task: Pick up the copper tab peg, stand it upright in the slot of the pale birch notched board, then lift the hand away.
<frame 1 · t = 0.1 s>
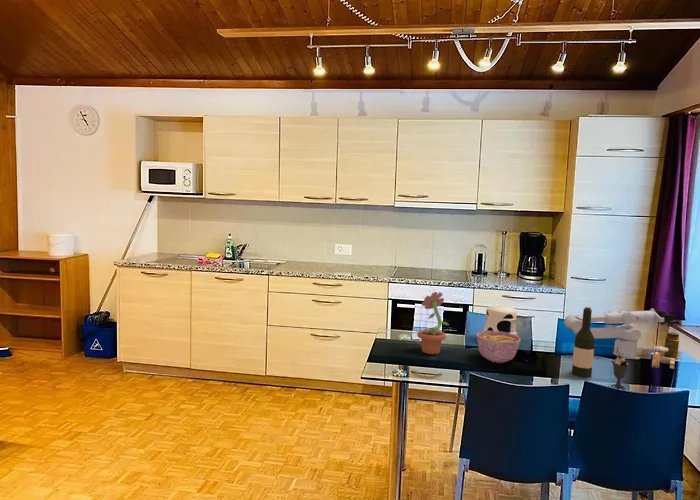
hand: (670, 315, 264), 22 cm above the table, tool horizontal, fingers open, 7 cm apart
notched board: (664, 364, 256), on the table
decorative flower: (431, 352, 259), on the table
bowl of food: (496, 360, 251), on the table
milk container: (499, 342, 283), on the table
wine bottle: (581, 375, 236), on the table
bobbin: (660, 359, 264), on the table
copper peg: (655, 367, 251), on the table
condiment: (669, 357, 270), on the table
sundae: (617, 387, 222), on the table
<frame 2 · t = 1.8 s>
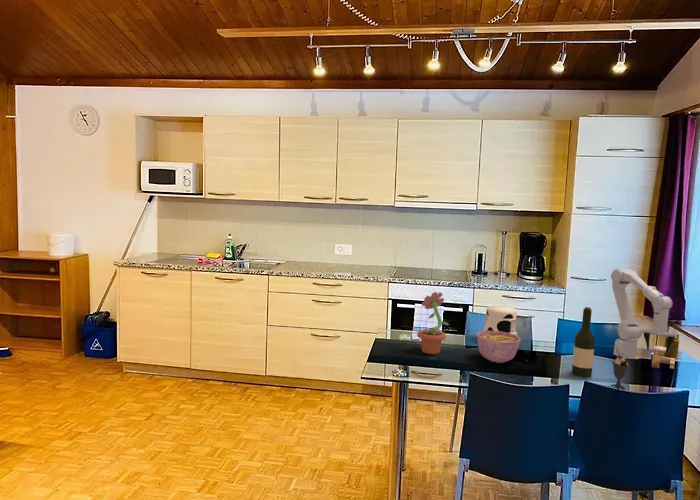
hand: (657, 350, 251), 8 cm above the table, tool pointing down, fingers open, 7 cm apart
nothing on the table moved.
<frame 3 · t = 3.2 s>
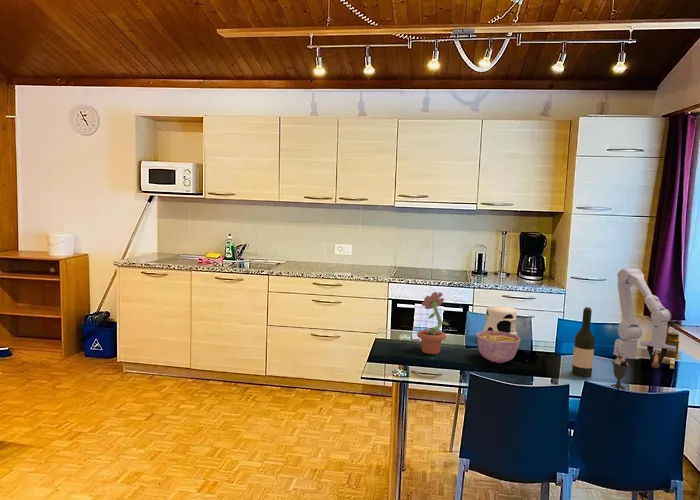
hand: (655, 363, 251), 2 cm above the table, tool pointing down, fingers closed on copper peg, 3 cm apart
copper peg: (655, 367, 251), on the table, touching gripper
everything else where it was.
when the fingers open (3 cm above the table, at t = 6.2 s): copper peg drops 1 cm, resting in notched board.
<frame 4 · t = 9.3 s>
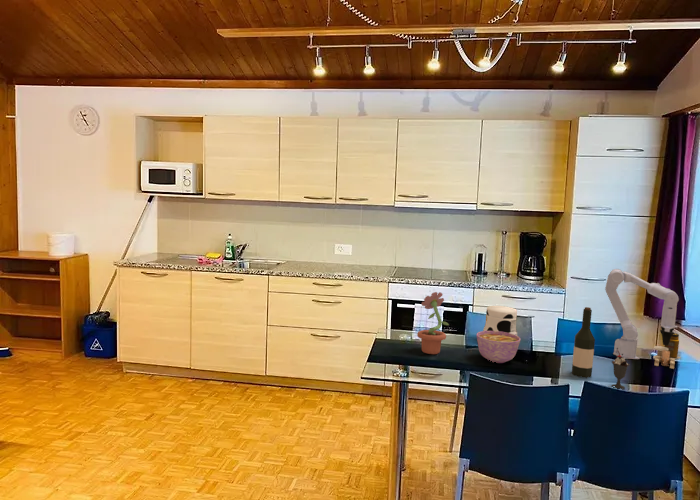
hand: (665, 343, 259), 9 cm above the table, tool pointing down, fingers open, 7 cm apart
copper peg: (664, 365, 255), resting in notched board
everything else where it was.
at the end: copper peg 0.2 cm from the target spot on the notched board, point 0.0 cm above the notched board's base; copper peg tilted 0°; the gripper is holding nothing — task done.
